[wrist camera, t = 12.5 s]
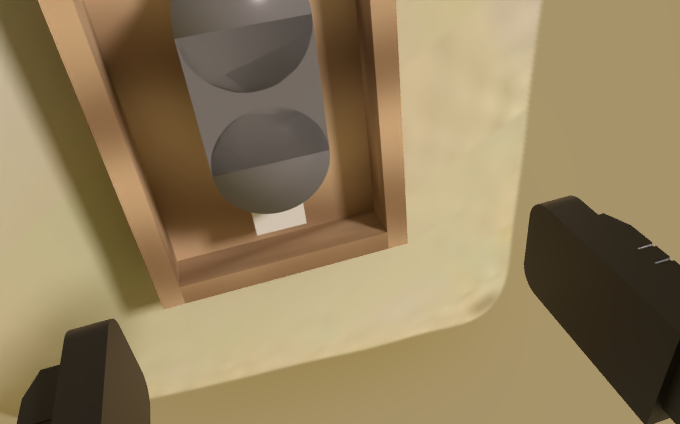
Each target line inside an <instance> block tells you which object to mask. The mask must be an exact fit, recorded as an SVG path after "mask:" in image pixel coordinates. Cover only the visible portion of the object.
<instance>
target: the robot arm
mask: <svg viewBox="0 0 680 424" xmlns="http://www.w3.org/2000/svg"><path fill="white" fill-rule="evenodd" d="M524 270H525V275H526V278H527V281H528V284H529V286H530V288H531V289H532V291H533V292H534V294H535V295H536V296H537V297H538V299H539V300H540V301H541V302H542V303H543V305H544V306H545V307H546V308H547V309H548V310H549V312H550V313H551V314H552V315H553V316H554V317H555V319H556V320H557V321H558V322H559V324H560V325H561V326H562V327H563V328H564V329H565V331H566V332H567V333H568V334H569V335H570V337H571V338H572V339H573V340H574V341H575V342H576V344H577V345H578V346H579V347H580V348H581V350H582V351H583V352H584V353H585V354H586V355H587V357H588V358H589V359H590V360H591V361H592V363H593V364H594V365H595V366H596V367H597V368H598V370H599V371H600V372H601V373H602V374H603V376H605V378H606V379H607V381H608V382H609V383H610V384H611V385H612V386H613V387H614V389H615V390H616V391H617V392H618V394H619V395H620V396H621V397H622V398H623V399H624V401H626V403H627V404H628V405H629V407H630V408H631V409H632V410H633V411H634V412H635V414H636V415H637V416H638V417H639V418H640V420H641V421H642V422H643V423H644V424H654V423H657V422H660V421H662V420H665V419H668V418H671V419H672V420H673V421H674V422H675V423H676V424H680V265H679V264H678V263H677V262H676V261H671V260H670V258H669V256H668V255H667V254H666V253H664V252H663V251H662V250H661V249H659V248H658V247H657V246H655V247H654V246H653V245H652V242H651V241H650V240H648V239H647V238H645V236H643V235H642V234H641V233H640V232H639V231H637V230H636V229H635V228H633V227H632V226H631V225H629V224H627V223H624V222H622V221H619V220H618V219H615V218H613V217H611V216H608V215H606V214H604V213H603V214H600V215H598V214H597V213H595V212H594V211H593V210H592V209H591V208H589V207H588V206H587V205H586V204H585V203H584V202H582V201H581V200H580V199H579V198H577V197H575V196H567V197H563V198H559V199H556V200H552V201H548V202H545V203H541V204H537V205H535V206H534V207H533V208H532V210H531V213H530V219H529V227H528V235H527V243H526V252H525V261H524ZM17 424H150V400H149V394H148V389H147V385H146V381H145V378H144V375H143V373H142V371H141V369H140V367H139V365H138V363H137V361H136V359H135V357H134V355H133V352H132V350H131V348H130V346H129V344H128V342H127V340H126V338H125V336H124V334H123V332H122V330H121V328H120V326H119V324H118V323H117V321H116V320H115V319H109V320H105V321H102V322H98V323H94V324H91V325H87V326H83V327H79V328H76V329H72V330H69V331H67V333H66V335H65V338H64V344H63V350H62V356H61V362H60V365H57V366H53V367H50V368H46V369H43V370H40V372H39V373H38V375H37V377H36V378H35V380H34V381H33V383H32V384H31V386H30V388H29V389H28V391H27V392H26V394H25V395H24V397H23V398H22V402H21V406H20V411H19V415H18V420H17Z"/></svg>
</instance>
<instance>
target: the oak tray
mask: <svg viewBox="0 0 680 424" xmlns="http://www.w3.org/2000/svg"><path fill="white" fill-rule="evenodd" d="M38 2H39V5H40V7H41V10H42V12H43V15H44V17H45V20H46V22H47V24H48V27H49V29H50V32H51V34H52V37H53V39H54V42H55V44H56V47H57V49H58V51H59V54H60V56H61V59H62V61H63V64H64V66H65V69H66V71H67V74H68V76H69V78H70V81H71V83H72V86H73V88H74V91H75V93H76V96H77V98H78V100H79V103H80V105H81V108H82V110H83V113H84V115H85V118H86V120H87V123H88V125H89V127H90V130H91V132H92V135H93V137H94V140H95V142H96V145H97V147H98V150H99V152H100V154H101V157H102V159H103V162H104V164H105V167H106V169H107V172H108V174H109V177H110V179H111V181H112V184H113V186H114V189H115V191H116V194H117V196H118V199H119V201H120V204H121V206H122V208H123V211H124V213H125V216H126V218H127V221H128V223H129V226H130V228H131V231H132V233H133V235H134V238H135V240H136V243H137V245H138V248H139V250H140V253H141V255H142V257H143V260H144V262H145V265H146V267H147V270H148V272H149V275H150V277H151V280H152V282H153V284H154V287H155V289H156V292H157V294H158V297H159V299H160V302H161V304H162V307H163V309H166V308H170V307H174V306H178V305H181V304H185V303H189V302H192V301H196V300H200V299H203V298H207V297H211V296H215V295H218V294H222V293H226V292H229V291H233V290H237V289H240V288H244V287H248V286H252V285H255V284H259V283H263V282H266V281H270V280H274V279H277V278H281V277H285V276H289V275H292V274H296V273H300V272H303V271H307V270H311V269H314V268H318V267H322V266H326V265H329V264H333V263H337V262H340V261H344V260H348V259H351V258H355V257H359V256H363V255H366V254H370V253H374V252H377V251H381V250H385V249H388V248H392V247H396V246H400V245H403V244H407V243H408V240H407V220H406V199H405V179H404V158H403V138H402V117H401V97H400V77H399V56H398V36H397V15H396V0H309V2H310V6H311V11H312V18H313V25H314V33H315V41H316V48H317V56H318V64H319V72H320V79H321V87H322V95H323V102H324V110H325V118H326V125H327V133H328V141H329V149H330V164H329V168H328V172H327V174H326V177H325V179H324V181H323V183H322V184H321V186H320V187H319V189H318V190H317V191H316V192H315V193H314V194H313V195H312V196H311V197H310V198H309V199H308V200H306V201H305V202H304V203H303V205H304V210H305V216H306V222H307V223H306V224H302V225H298V226H294V227H290V228H286V229H282V230H278V231H274V232H270V233H266V234H262V235H258V236H257V233H256V229H255V226H254V222H253V218H252V214H251V212H248V211H245V210H242V209H240V208H238V207H236V206H234V205H233V204H231V203H230V202H229V201H227V200H226V199H225V198H224V197H223V196H222V194H221V193H220V192H219V190H218V189H217V187H216V185H215V183H214V180H213V178H212V174H211V170H210V167H209V163H208V160H207V156H206V152H205V149H204V145H203V142H202V138H201V134H200V131H199V127H198V123H197V120H196V116H195V113H194V109H193V105H192V102H191V98H190V95H189V91H188V87H187V84H186V80H185V76H184V73H183V69H182V66H181V62H180V58H179V55H178V51H177V48H176V44H175V40H174V36H173V31H172V24H171V15H170V6H169V0H38Z"/></svg>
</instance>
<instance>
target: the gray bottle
mask: <svg viewBox="0 0 680 424" xmlns="http://www.w3.org/2000/svg"><path fill="white" fill-rule="evenodd" d="M169 6H170V15H171V24H172V31H173V36H174V40H175V44H176V48H177V51H178V55H179V58H180V62H181V66H182V69H183V73H184V76H185V80H186V84H187V87H188V91H189V95H190V98H191V102H192V105H193V109H194V113H195V116H196V120H197V123H198V127H199V131H200V134H201V138H202V142H203V145H204V149H205V152H206V156H207V160H208V163H209V167H210V170H211V174H212V178H213V180H214V183H215V185H216V187H217V189H218V190H219V192H220V193H221V194H222V196H223V197H224V198H225V199H226V200H227V201H229V202H230V203H231V204H233V205H234V206H236V207H238V208H240V209H242V210H245V211H248V212H251V214H252V218H253V222H254V226H255V229H256V233H257V236H258V235H262V234H266V233H270V232H274V231H278V230H282V229H286V228H290V227H294V226H298V225H302V224H306V223H307V222H306V216H305V210H304V205H303V203H304V202H305V201H306V200H308V199H309V198H310V197H311V196H312V195H313V194H314V193H315V192H316V191H317V190H318V189H319V187H320V186H321V184H322V183H323V181H324V179H325V177H326V174H327V172H328V168H329V164H330V149H329V141H328V133H327V125H326V118H325V110H324V102H323V95H322V87H321V79H320V72H319V64H318V56H317V48H316V41H315V33H314V25H313V18H312V11H311V6H310V2H309V0H169Z"/></svg>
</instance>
